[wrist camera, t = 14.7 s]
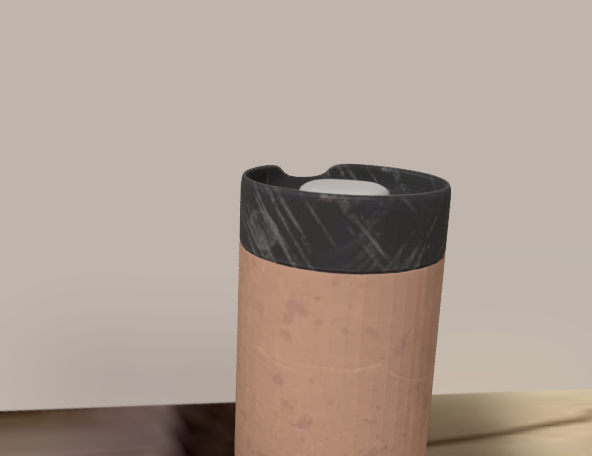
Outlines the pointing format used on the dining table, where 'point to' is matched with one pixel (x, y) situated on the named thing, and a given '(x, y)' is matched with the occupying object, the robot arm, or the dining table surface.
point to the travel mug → (338, 310)
